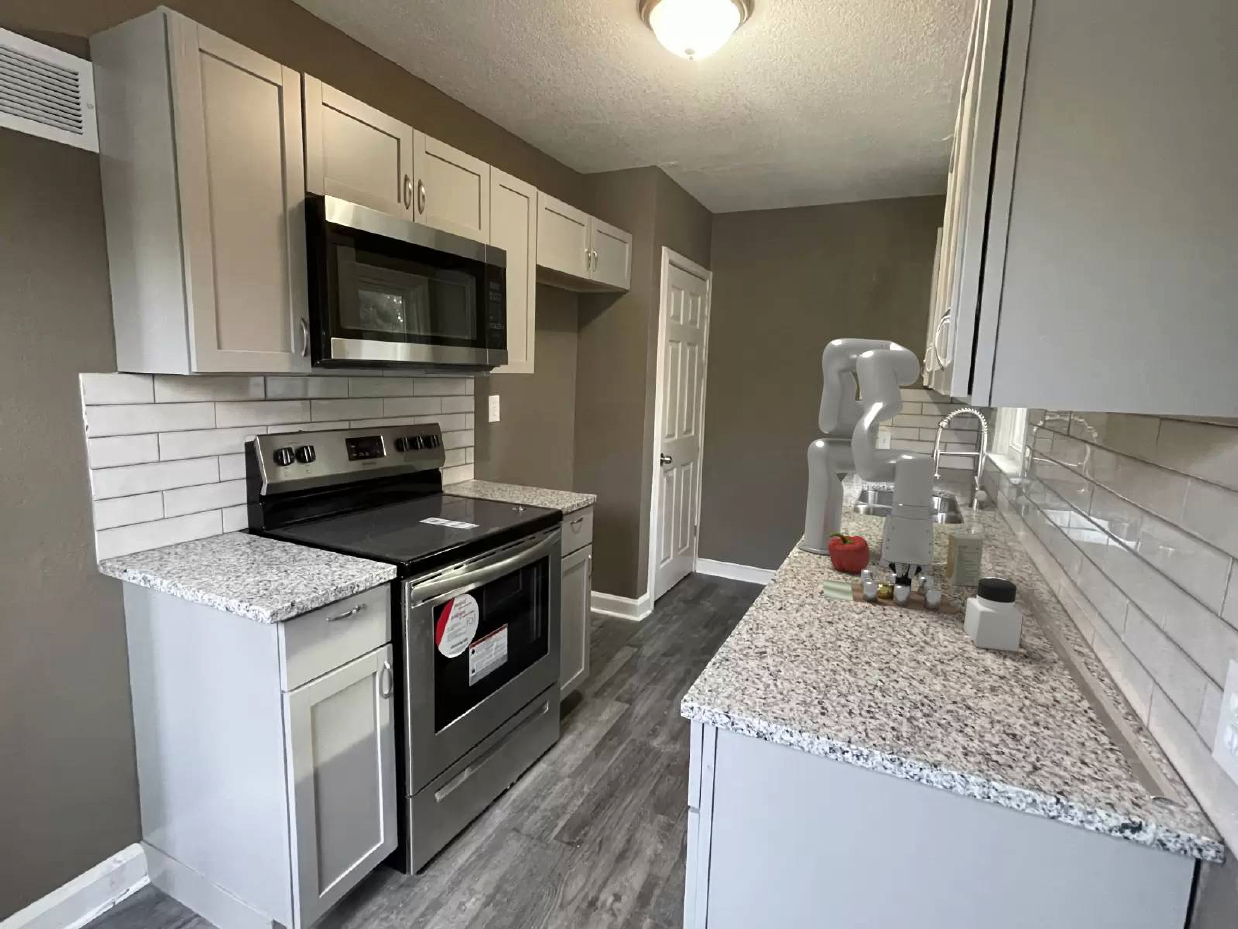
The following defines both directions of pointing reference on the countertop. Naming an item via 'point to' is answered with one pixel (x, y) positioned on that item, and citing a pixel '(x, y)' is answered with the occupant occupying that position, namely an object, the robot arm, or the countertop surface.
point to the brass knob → (885, 590)
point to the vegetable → (848, 553)
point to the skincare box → (964, 559)
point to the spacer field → (901, 590)
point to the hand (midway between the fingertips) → (902, 593)
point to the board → (856, 594)
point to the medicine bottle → (994, 616)
